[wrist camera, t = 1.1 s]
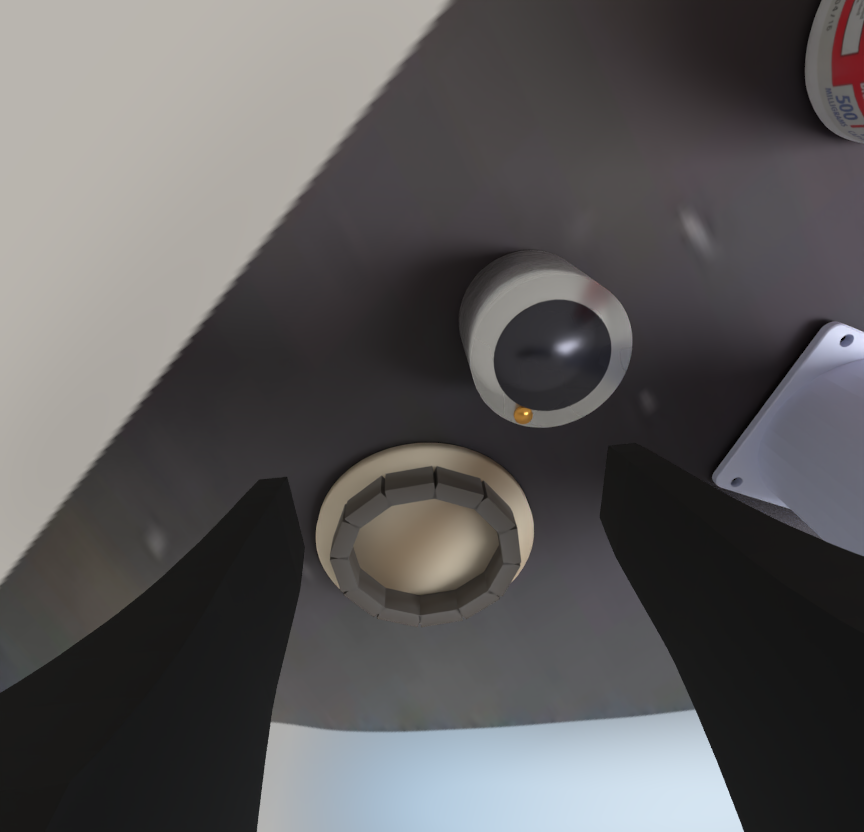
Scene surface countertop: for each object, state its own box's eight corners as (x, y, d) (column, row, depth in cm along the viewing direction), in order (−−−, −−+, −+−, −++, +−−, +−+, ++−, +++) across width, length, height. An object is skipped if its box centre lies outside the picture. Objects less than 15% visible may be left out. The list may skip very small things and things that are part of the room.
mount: (568, 477, 23) (580, 502, 21) (481, 624, 27) (486, 654, 25) (351, 414, 21) (347, 437, 19) (295, 584, 25) (288, 614, 23)
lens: (614, 277, 18) (666, 309, 15) (553, 393, 21) (585, 447, 17) (489, 228, 17) (512, 250, 14) (439, 356, 20) (447, 404, 16)
